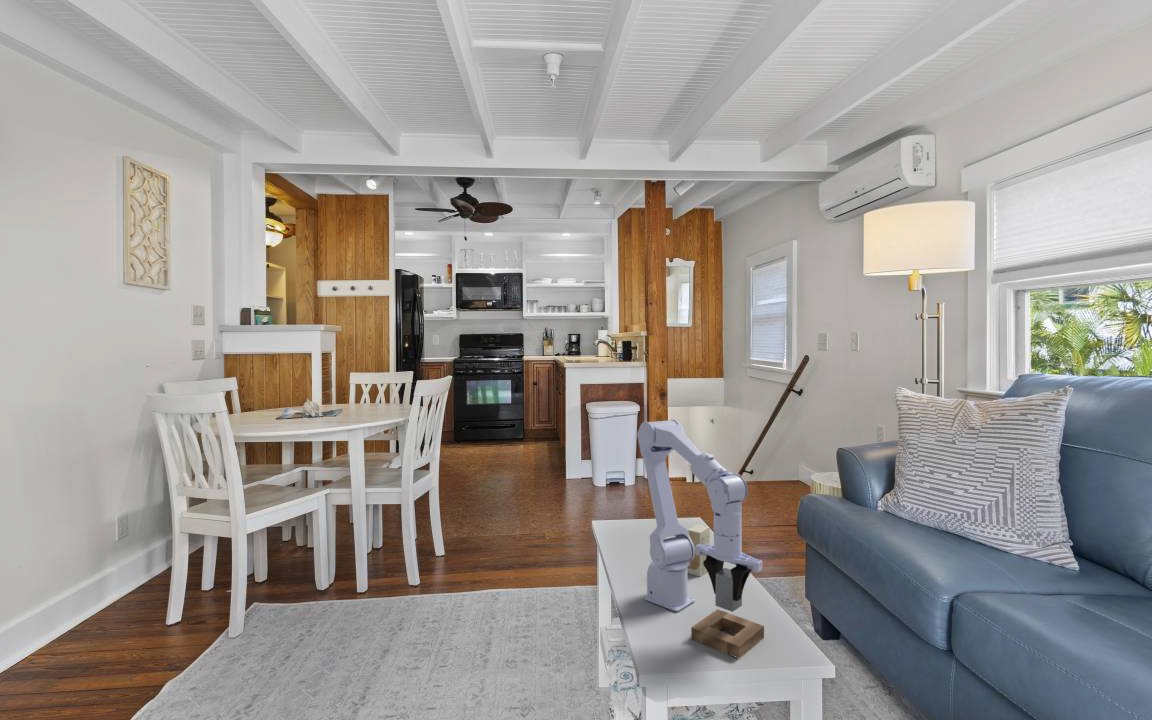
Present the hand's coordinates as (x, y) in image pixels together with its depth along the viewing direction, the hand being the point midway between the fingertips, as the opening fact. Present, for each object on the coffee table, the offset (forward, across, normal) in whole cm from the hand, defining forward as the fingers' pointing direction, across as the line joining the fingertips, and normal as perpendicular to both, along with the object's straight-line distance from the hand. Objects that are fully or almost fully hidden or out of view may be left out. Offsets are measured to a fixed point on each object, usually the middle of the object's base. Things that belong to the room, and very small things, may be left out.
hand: (727, 595), depth 116 cm
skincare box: (+9, +23, -26) cm, 36 cm away
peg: (+2, 0, 0) cm, 2 cm away
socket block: (+9, 0, 0) cm, 9 cm away
